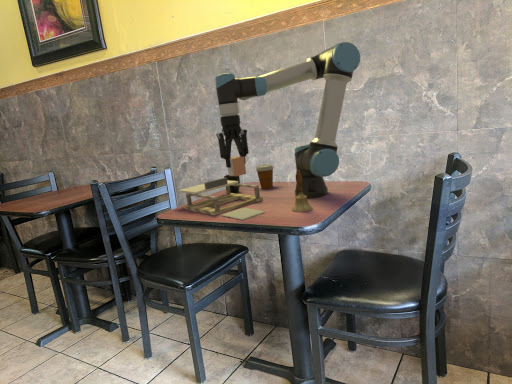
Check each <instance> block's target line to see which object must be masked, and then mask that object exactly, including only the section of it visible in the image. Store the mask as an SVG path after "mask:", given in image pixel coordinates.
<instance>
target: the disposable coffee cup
mask: <svg viewBox="0 0 512 384" xmlns="http://www.w3.org/2000/svg"><path fill="white" fill-rule="evenodd" d="M273 169H274V166H273V164H262V165H257V166H256V168H255V170H256V172H257V177H258V181H259V185H260V188H261V189H262V190H268V189H272V188H273V187H274V185H273V183H274V181H273V178H274V170H273Z"/></svg>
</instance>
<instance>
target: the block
mask: <svg viewBox="0 0 512 384" xmlns="http://www.w3.org/2000/svg"><path fill="white" fill-rule="evenodd" d="M230 159H232V160H233V168H234V176H239V177H240V176H243V175H246V174H247V169H246V164H245V161H246V160H245V161H244V157H240V156H231V158H230ZM227 172H228V171H227ZM228 175H229V172H228ZM229 176H230V175H229Z"/></svg>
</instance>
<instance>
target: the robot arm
mask: <svg viewBox="0 0 512 384" xmlns="http://www.w3.org/2000/svg"><path fill="white" fill-rule="evenodd" d="M360 63H361V53H360V50H359V49H358V47H357V46H356V45H355V44H353V43H352V42H350V41H349V42H348V41H344V42H343V41H342V42H339V43H336V44H335V45H333V46H332V47H330V48H327V49H325V50H324V51H322V52H320V53H317V54H316V55H314V56H311V57H309V58H307V59H306V61H304V62H299V63H296V64H295V65H289V66H287V67H285V68H280V69H278V70H274V71H271V72H268V73H264V74H261V75H259V76H257V75H255V76H249V77H241V78H240V77H239V78H236V76H235V74H234V73H232V72H227V73H220V74H217V75H216V76H215V78H214V79H215V89H216V95H217V96H216V97H217V102H218V103H217V104H218V110H219V116H220V118H219V119H220V126H221V127H222V130H221V131H220V132H219V133H216V134H215V135H216V137H217V140H218V148H219V154H220V156H219V157H220V158H221V159H223V160H225V166H226V168H227V172H229V173H228V175H230V176H234V168H233V160H232V159H230V158H231V157H232V155H231V154H232V142H233V141H234V143H235V146H236V149H237V151H238V152H237V153H238V155H239V157H244V161H245V165H246V157H247V155H249V153H250V151H249V146H248V145H249V143H248V138H247V133H248V130H247V129H243V128H242V127H241V117H240V115H239V113H240V109H239V102H238V101H239V100H241V101H246V100H249V99H251V98H256V97H258V98H259V97H262V96H265V95H266V94H267V93H270V92H273V91H277V90H280V89H282V88H286V87H289V86H293V85H295V84H296V85H297V84H298V83H302V82H306V81H307V80H312V81H316V80H321V79H324V80H325V84H324V89H323V94H322V100H321V105H320V110H319V115H318V120H317V125H316V130H315V135H314V138H313V139H312V140H311V141H309V144H305V145H304V144H303V145H298V146H296V147H295V148H294V160H295V170H296V171H297V170H300V173H301V175H302V191H303V194H304V195H306V196H307V199H310V198H311V199H312V198H318V197H323V196H326V195H327V194H328V193H329V192H328V191H329V190H328V187H327V184H326V182H325V181H326V180H325V179H324V178H325V177H326V178H327V177H329V176H331V175H332V174H334V173H336V171H337V169H338V168H339V165H340V158H339V155H338V153H337V152H338V147H339V146H338V144H337V143H336V138H337V134H338V129H339V123H340V118H341V114H342V110H343V109H342V108H343V104H344V99H345V94H346V89H347V86H348V84H349V83H350V82H351V81H352V80H353V79H352V78H353V76H354V75H353V74H354V71H356V70H357V69H358V67H359V66H360ZM296 171H295V172H296ZM294 195H295V197H296V196H298V195H299V192H298V185H297V183H296V185H295V190H294Z"/></svg>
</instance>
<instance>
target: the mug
mask: <svg viewBox="0 0 512 384" xmlns="http://www.w3.org/2000/svg"><path fill="white" fill-rule="evenodd" d="M223 178H227V180H230V181H238V183H237V184H241V179H240V175H239V176H229V174H226V175H224V176H223ZM240 188H241V186H232V185H230V192H231V193H235V194H239V193H240Z"/></svg>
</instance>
